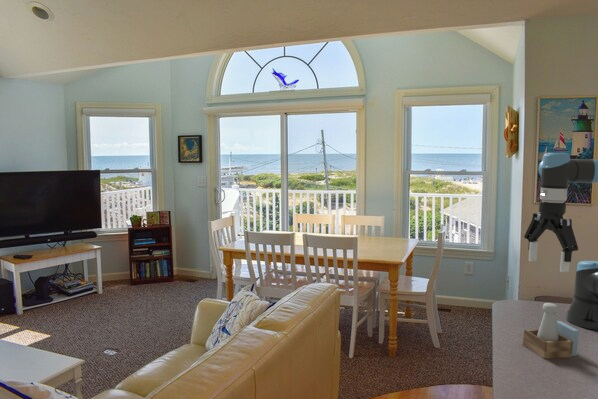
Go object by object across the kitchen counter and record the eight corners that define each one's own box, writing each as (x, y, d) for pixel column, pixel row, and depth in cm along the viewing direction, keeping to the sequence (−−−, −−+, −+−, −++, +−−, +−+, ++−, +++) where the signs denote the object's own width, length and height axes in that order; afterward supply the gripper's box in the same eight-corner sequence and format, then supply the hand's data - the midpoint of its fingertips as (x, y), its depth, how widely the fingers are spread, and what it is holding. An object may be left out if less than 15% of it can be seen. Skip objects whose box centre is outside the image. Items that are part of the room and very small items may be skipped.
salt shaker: (560, 349, 138) (564, 308, 137) (539, 347, 139) (544, 306, 138) (553, 341, 144) (557, 302, 143) (534, 339, 145) (538, 300, 144)
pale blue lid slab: (557, 344, 147) (559, 320, 146) (576, 355, 139) (579, 330, 138) (551, 344, 147) (554, 320, 146) (570, 356, 139) (573, 330, 138)
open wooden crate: (549, 343, 147) (550, 329, 147) (571, 357, 138) (573, 341, 137) (522, 344, 146) (524, 329, 145) (543, 358, 136) (545, 342, 136)
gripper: (515, 197, 157) (511, 257, 159) (574, 206, 133) (568, 277, 135) (534, 196, 159) (530, 256, 161) (595, 206, 134) (589, 276, 137)
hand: (547, 266), depth 148 cm, fingers open, 13 cm apart
